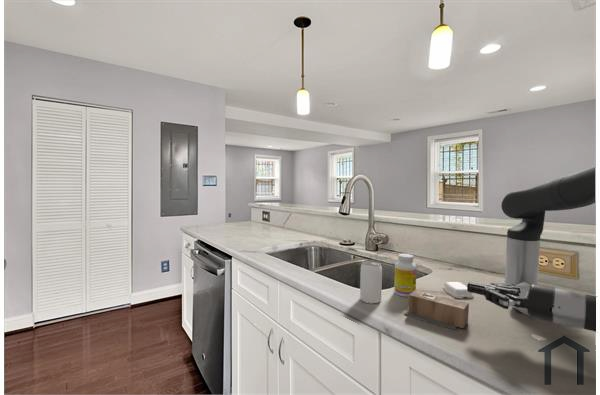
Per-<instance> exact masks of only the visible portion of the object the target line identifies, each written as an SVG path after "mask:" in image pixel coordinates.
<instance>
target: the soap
mask: <svg viewBox="0 0 600 395" xmlns="http://www.w3.org/2000/svg"><path fill="white" fill-rule="evenodd" d="M442 289H443V291H445V292H446V293H447V294H448V295H450V296H451V297H453V298H456V299H464V298H467V299H472V298H475V296H474V293H471V292H468V291H467V285H466V284H464V283H462V282H460V281H446V282H444V285H443V286H442Z"/></svg>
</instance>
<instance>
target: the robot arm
mask: <svg viewBox="0 0 600 395" xmlns="http://www.w3.org/2000/svg"><path fill="white" fill-rule="evenodd" d="M595 166H596V165H594V166H591V167H588V168H585V169H583V170H580V171H576V172H573V173H570V174H567V175H563V176H561V177H558V178H555V179H553V180H550V181H548V182H544V183H542V184H539V185H536V186H533V187H531V188H527V189H522V190H517V191H512V192H509V193H507V194H506V195H505V196H504V197H503V199H502V201H501V210H502V212H503V214H504V215H505V216H507V217H508V218H511V219H517V220H519V219H520V220H521V222H520V223H518V224H517V225H515V226H512V227H510V228H508V229H507V232H506V233H507V234H506V248H505V249H506V253H505V254H506V255H505V270H504V282H490V283H487V284H482V283H478V282H473V281H469V282H468V283H467V285H466V286H467V291H468V292H471V293H473V294H475V295H476V294H477V295H481V296H483V297H484V298H485V300H487V301H488V302H490V303H492V304H494V305H497V306H498V307H500V308H502V309H504V310H509V307H512V308H513V307H514V308H513V309H515V308H526V309H528V317H529V318H532V319H537V320H540V321H544V322H549V323H553V324H556V325H557V324H558V325H561V326H565V327H571V328H578V329H584V330H588V331H592V332H595V333H597V332H596V297H597V296H595V295H591V294H586V293H582V292H581V293H580V292H577V291H574V290H569V289H563V288H559V287H554V286H548V285H542V284H539V283H538V282H539V268H540V267H539V266H540V265H539V264H540V252H541V250H540V247H541V246H540V245H541V236H542V234H543V231H544V225H545V218H546V212H552V211H553V212H554V211H566V210H567V211H570V210H575V209H580V208H584V207H588V206H592V205H593V204H595V203H596V202H595ZM522 282H525V283H528V284H530V289H529V291H528V290H525V289H521V288H520V287H517V286H515V285H518V284H520V283H522Z"/></svg>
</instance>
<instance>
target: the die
mask: <svg viewBox="0 0 600 395" xmlns="http://www.w3.org/2000/svg"><path fill="white" fill-rule="evenodd" d="M515 286H517V287H520V288H521V289H525V290H528V291H529V289H530V284H528V283H525V282H522V283H520V284H518V285H515ZM512 308H513V309H515V310H516V311H518V312H520V313H522V314H524V315H525V316H527V315H528V309H526V308H514V307H512ZM528 316H529V315H528Z"/></svg>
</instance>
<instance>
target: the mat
mask: <svg viewBox="0 0 600 395" xmlns="http://www.w3.org/2000/svg"><path fill="white" fill-rule="evenodd" d="M403 315H404V316H407V317H411V318H415V319H417V320H421V321H425V322H427V323H430V324H434V325H437V326H440V327H444V328H447V329H450V330H454V331H455V330H456V329H457V328H458V327H457V326H454V325H451V324H447V323H444V322H440V321H437V320H434V319H430V318H427V317H424V316H420V315H417V314H413V313H410V312H408V310H407V311H405V312H404V314H403Z"/></svg>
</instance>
